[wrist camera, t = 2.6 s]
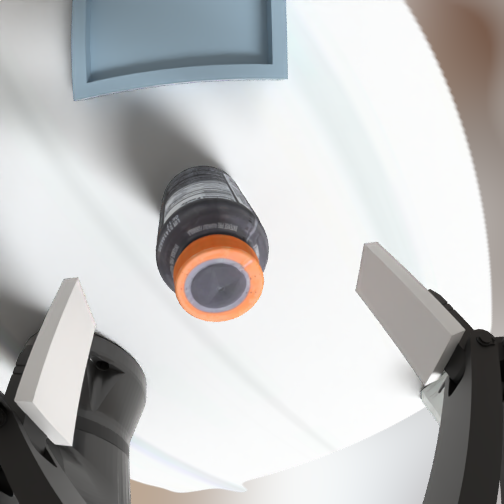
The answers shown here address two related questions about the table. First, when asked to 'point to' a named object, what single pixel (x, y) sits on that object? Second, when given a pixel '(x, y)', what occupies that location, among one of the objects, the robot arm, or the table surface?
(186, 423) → the table surface
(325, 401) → the table surface
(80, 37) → the tray
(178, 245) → the pill bottle
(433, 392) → the skincare box
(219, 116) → the table surface
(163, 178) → the table surface
